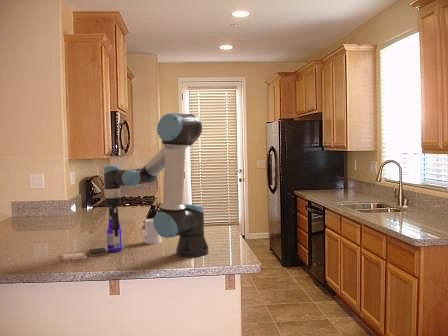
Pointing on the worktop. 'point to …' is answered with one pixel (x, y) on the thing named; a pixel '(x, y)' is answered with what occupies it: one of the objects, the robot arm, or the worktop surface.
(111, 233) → the bottle
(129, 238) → the worktop surface
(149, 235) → the mug
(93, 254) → the ink pad
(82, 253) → the print board
